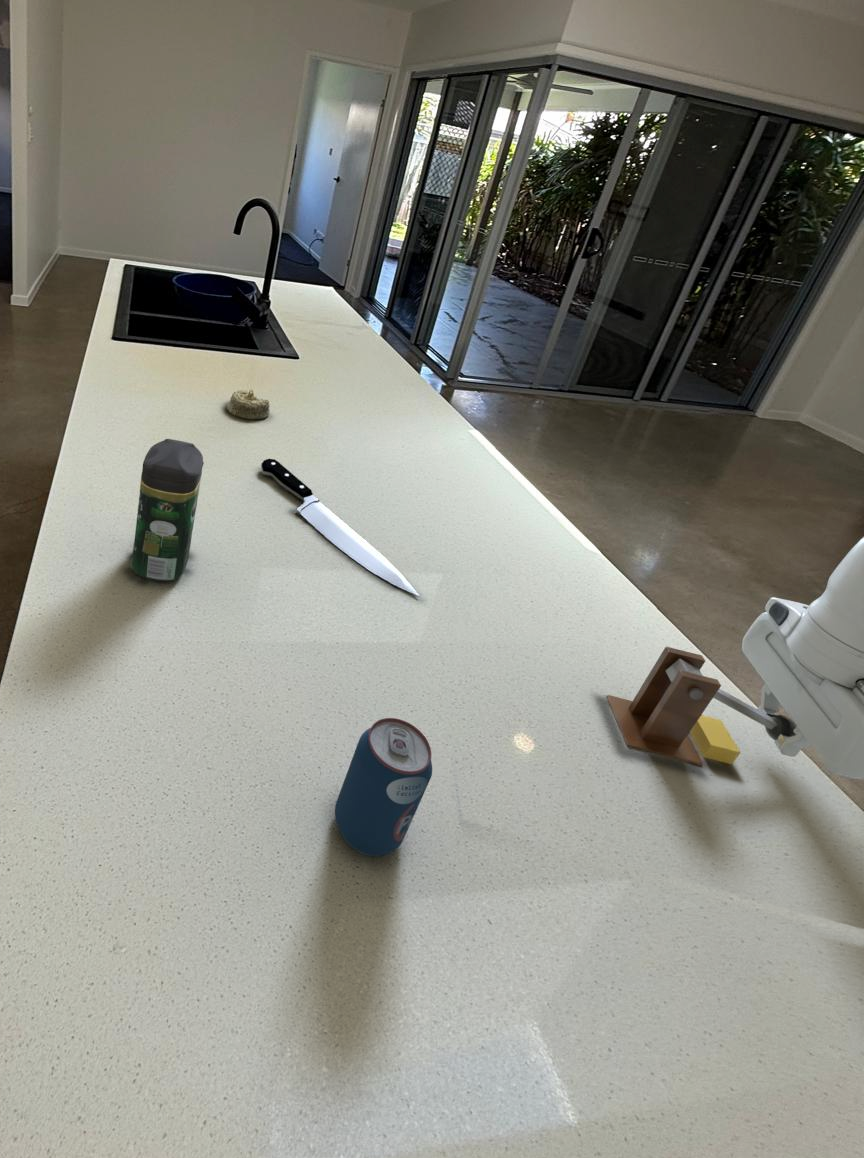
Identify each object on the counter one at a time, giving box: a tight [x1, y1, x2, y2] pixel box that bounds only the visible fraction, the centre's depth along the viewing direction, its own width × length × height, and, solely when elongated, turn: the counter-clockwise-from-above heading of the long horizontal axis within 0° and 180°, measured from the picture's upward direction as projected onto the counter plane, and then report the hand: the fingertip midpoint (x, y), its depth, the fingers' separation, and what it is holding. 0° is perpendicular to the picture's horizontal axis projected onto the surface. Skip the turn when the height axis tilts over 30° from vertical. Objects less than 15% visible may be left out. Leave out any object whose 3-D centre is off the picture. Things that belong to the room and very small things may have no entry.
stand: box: [605, 646, 722, 766], centre depth 80 cm, size 9×8×12 cm
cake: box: [226, 389, 271, 420], centre depth 149 cm, size 10×10×5 cm
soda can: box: [334, 717, 433, 857], centre depth 61 cm, size 7×7×12 cm
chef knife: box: [260, 458, 420, 597], centre depth 112 cm, size 5×41×2 cm, turn 36°
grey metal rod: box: [666, 659, 796, 741], centre depth 79 cm, size 17×3×3 cm, turn 81°
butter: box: [689, 714, 741, 765], centre depth 82 cm, size 4×5×3 cm
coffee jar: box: [130, 438, 205, 583], centre depth 91 cm, size 10×8×19 cm
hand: (773, 735), depth 80 cm, fingers closed on grey metal rod, 3 cm apart
